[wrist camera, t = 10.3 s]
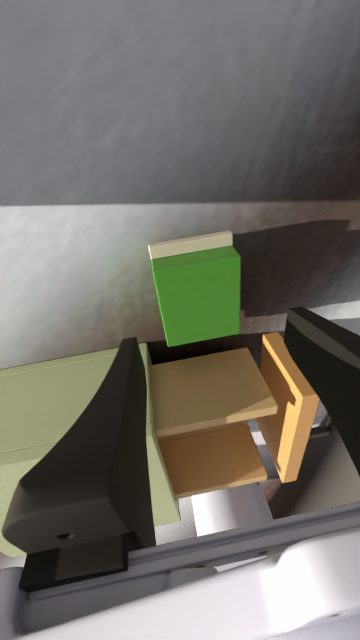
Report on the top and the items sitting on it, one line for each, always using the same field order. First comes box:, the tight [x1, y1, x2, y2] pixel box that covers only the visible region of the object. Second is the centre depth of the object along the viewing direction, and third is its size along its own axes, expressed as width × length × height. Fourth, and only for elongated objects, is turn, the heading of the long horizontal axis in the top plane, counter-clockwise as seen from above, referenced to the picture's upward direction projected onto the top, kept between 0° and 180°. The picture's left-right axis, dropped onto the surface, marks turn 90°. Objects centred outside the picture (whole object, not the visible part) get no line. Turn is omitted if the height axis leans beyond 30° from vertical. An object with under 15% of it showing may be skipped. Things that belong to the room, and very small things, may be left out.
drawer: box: [150, 332, 341, 499], centre depth 21 cm, size 17×11×6 cm, turn 97°
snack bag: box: [148, 231, 241, 347], centre depth 17 cm, size 7×5×4 cm
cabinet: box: [0, 343, 181, 557], centre depth 21 cm, size 14×13×8 cm
